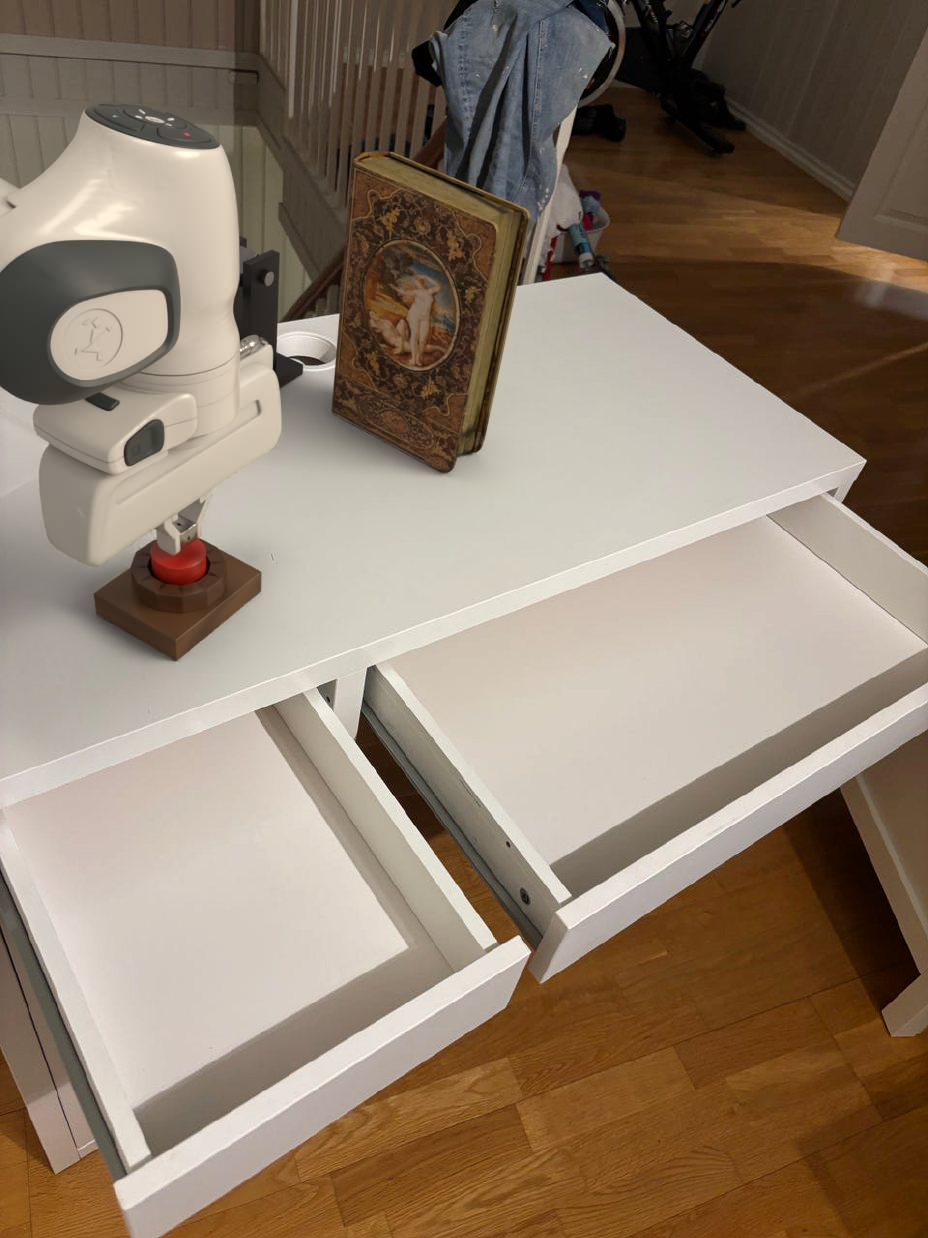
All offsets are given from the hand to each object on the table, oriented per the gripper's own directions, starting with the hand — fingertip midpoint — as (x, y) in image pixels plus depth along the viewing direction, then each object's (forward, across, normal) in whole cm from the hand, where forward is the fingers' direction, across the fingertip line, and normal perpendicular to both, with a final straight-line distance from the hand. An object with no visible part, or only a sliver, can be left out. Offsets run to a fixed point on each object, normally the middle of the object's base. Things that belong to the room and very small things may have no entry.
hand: (180, 542), depth 71 cm
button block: (+6, 0, 0) cm, 6 cm away
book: (+6, -33, 0) cm, 33 cm away
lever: (-2, -26, -18) cm, 32 cm away
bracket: (+6, -30, -18) cm, 35 cm away
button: (+2, 0, 0) cm, 3 cm away
